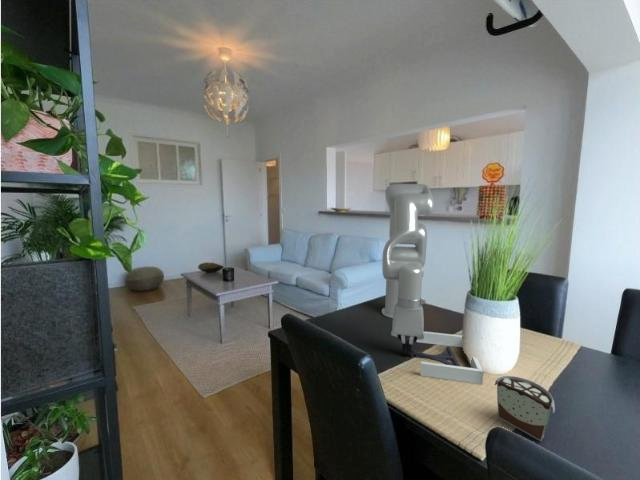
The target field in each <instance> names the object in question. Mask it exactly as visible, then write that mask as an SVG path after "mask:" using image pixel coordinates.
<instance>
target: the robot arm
mask: <svg viewBox="0 0 640 480" xmlns="http://www.w3.org/2000/svg"><path fill="white" fill-rule="evenodd" d="M385 201H386V203H387V206H388V210H389V236H388V237H389V239H388V240H387V242H386V244H385V245H384V247H383V251H382V257H381V258H382V261H381V263H382V265H381V268H382V276H383V278H384V279H385V300H384V301H385V302H384V303H385V306H384V307H383V308H382V309H381V314H382V315H383V316H385V317H387V318H389V319H390V318H391V319H392V325H391V326H392V330H391V333H390V335H391V336H393V337H396V338H397V339H398V340H399V341H400V342H401V345H402V346H401V351H402V352H403V355H405V356H409V355H410V353H411V351H412V345H413V343H415V342H416V340H417V339H418V340H419V339H424V335H423V331H424V330H425V329H424V328H425V326H424V325H425V323H424V322H425V319H424V318H425V317H424V308H423V307H424V306H423V305H426V300H425V299H422V285H423V277H424V275H425V270H424V269H425V268H424V266H425V264H426V256H427V242H428V241H427V239H428V232H427V227H426V225H425V224H423V223H421V222H420V223H419V221H418V220H419V219H418V217H430V216H432V215H433V212H434V210H435V200H434V196H433V193H432V191H431V189H430V186H429V185H427V184H424V183H422V184H421V183H396V184H395V183H394V184H390V185H388V186H387V187H386V188H385ZM398 245H400V246H398ZM401 245H414V246H401ZM424 332H425V331H424ZM406 336H408V339H406Z"/></svg>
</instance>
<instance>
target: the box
mask: <svg viewBox="0 0 640 480" xmlns="http://www.w3.org/2000/svg"><path fill="white" fill-rule="evenodd" d="M423 335H424V339H419V340H418V339H417V340H416V341H415V342H416V343H420V344H421V343H422V344H429V345H430V344H431V345H438V346H445V347H448V346H449V347H455V348H462V349H463V345H462V336H463V335H459V334H450V333H442V332H432V331H423ZM467 361H468V364H469V366H470V367H465V366H461V365H460V366H461V367H460V366H452V365H447V364H445V363H435V362H430V361H429V362H428V361H422V360H421V361H420V373H419V374H420V375H419V376H421V377H422V376H423V377H427V378H436V379H441V380H449V381H455V382H463V383H469V384H470V383H471V384H475V385H476V384H477V385H483V381H484V370H483V368H482V366H481V364H480V361H479V360H478V357H477V358H475V357H473V356H472V360H471V363H470V360H468V359H467Z"/></svg>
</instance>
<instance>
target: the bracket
mask: <svg viewBox="0 0 640 480" xmlns="http://www.w3.org/2000/svg"><path fill="white" fill-rule="evenodd" d="M409 355H410V357H411V358H413V359H414V358H415V359H426V360H427V359H428V360H434V361H438V362H440V363H442V364H445V365H452V366H460V367H462V365H461V364H460V362H459V361H458V359H457V357H456V355H455V353H454V352H453V349H452V346H446V348H445V349H444V350H443V352H441V353H437V354H431V353H425V352H421V351H419V350H416V349H413V350H412V349H411V352H409Z"/></svg>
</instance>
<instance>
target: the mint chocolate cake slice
mask: <svg viewBox="0 0 640 480" xmlns="http://www.w3.org/2000/svg"><path fill="white" fill-rule="evenodd" d="M494 386H496V390H497V391H496V392H497V393H496V394H497V395H496V398H497V404H496V405H497V418H498V419H500V420H502V421H504V422H505V423H507V424H510V425H511V426H512V427H515V428H516V429H518V430H520V431H521V432H523V433H525V434H526V435H528V436H530V437H531V438H534V439H536V440H537V441H539V442H541V443H542V442H543V441H544V437H545V433H546V430H547V426H548V422H549V418H550V415H551V411H552V414H554V413H555V412H556V406H555V400H554V397H553V396H552V394H551V393H550V392H549V391H548V390H547V389H546V388H545V387H543V386H542V385H540V384H538V383H536V382H534V381H531V380H530V379H526V378H523V377H520V376H511V375H502V376H499V377H497V379H496V380H495V383H494Z"/></svg>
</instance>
